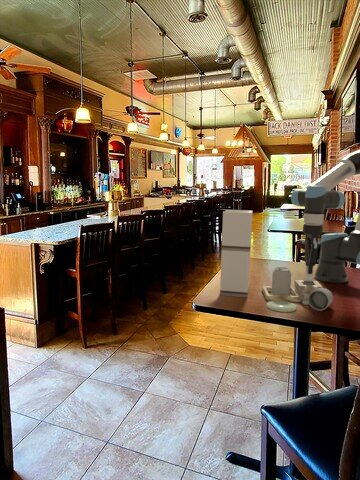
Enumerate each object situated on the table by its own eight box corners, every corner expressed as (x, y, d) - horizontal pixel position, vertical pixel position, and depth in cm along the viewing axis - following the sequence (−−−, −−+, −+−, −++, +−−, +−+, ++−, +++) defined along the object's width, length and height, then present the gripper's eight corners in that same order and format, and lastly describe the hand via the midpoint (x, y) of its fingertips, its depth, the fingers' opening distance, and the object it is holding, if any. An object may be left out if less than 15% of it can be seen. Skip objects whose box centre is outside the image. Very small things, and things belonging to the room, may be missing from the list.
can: (275, 292, 158) (277, 265, 157) (292, 295, 154) (294, 268, 152) (268, 296, 153) (269, 268, 151) (285, 300, 148) (287, 271, 146)
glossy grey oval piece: (311, 291, 154) (312, 280, 153) (313, 294, 150) (314, 282, 149) (301, 291, 154) (302, 279, 153) (303, 294, 150) (304, 282, 149)
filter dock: (314, 292, 158) (315, 279, 158) (323, 303, 145) (324, 288, 144) (262, 290, 160) (262, 277, 160) (266, 300, 147) (267, 285, 146)
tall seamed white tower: (248, 290, 161) (252, 210, 155) (247, 297, 151) (251, 212, 145) (222, 287, 163) (225, 209, 158) (219, 295, 153) (223, 211, 147)
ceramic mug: (333, 306, 141) (334, 287, 140) (327, 312, 135) (329, 292, 133) (305, 301, 147) (306, 283, 146) (299, 307, 141) (300, 287, 140)
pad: (293, 303, 145) (293, 301, 144) (299, 312, 134) (299, 310, 134) (265, 301, 146) (265, 299, 145) (269, 311, 135) (269, 309, 135)
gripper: (299, 222, 154) (295, 276, 158) (307, 225, 141) (302, 284, 145) (318, 222, 153) (313, 277, 157) (327, 226, 141) (322, 285, 144)
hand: (308, 280), depth 151 cm, fingers closed
